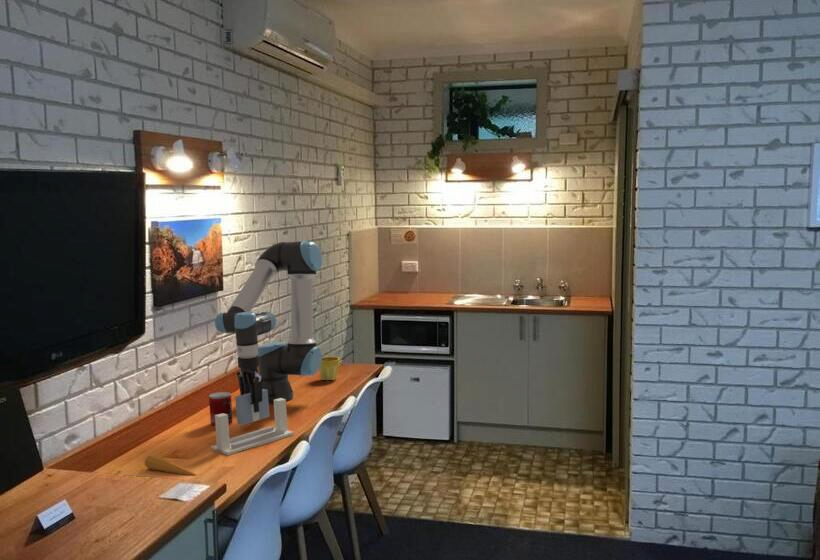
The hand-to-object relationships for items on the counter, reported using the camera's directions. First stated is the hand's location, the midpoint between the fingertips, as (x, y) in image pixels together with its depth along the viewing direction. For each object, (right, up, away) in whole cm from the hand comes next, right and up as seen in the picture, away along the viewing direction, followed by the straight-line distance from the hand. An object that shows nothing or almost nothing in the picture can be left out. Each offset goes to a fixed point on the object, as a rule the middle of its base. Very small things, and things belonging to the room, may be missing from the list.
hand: (253, 419), depth 260 cm
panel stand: (+4, -4, -16) cm, 17 cm away
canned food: (-13, -3, +7) cm, 15 cm away
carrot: (-15, -8, -42) cm, 46 cm away
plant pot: (+20, +5, +69) cm, 72 cm away
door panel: (0, 0, 0) cm, 0 cm away
